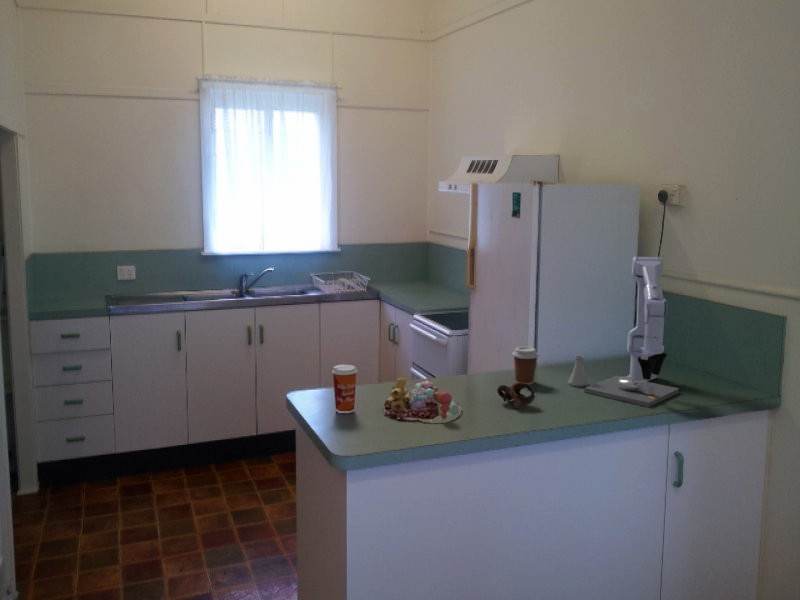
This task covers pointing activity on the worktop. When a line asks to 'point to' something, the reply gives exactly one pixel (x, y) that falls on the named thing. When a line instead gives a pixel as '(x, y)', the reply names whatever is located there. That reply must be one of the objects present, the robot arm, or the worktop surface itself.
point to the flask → (578, 374)
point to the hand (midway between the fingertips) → (651, 376)
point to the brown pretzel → (516, 394)
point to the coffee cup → (525, 364)
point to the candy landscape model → (420, 402)
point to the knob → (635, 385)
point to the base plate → (631, 392)
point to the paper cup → (344, 386)
